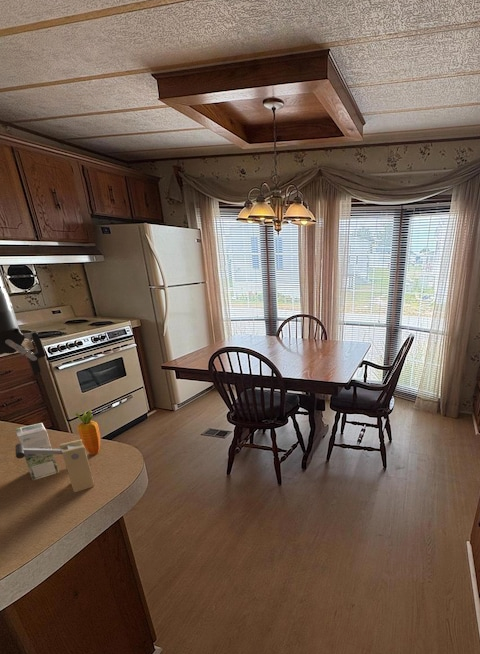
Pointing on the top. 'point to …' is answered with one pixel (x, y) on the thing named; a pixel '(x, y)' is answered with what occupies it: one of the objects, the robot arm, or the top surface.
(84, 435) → the carrot
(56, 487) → the top surface
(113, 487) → the top surface
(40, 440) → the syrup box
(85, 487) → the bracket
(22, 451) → the lever
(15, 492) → the top surface
